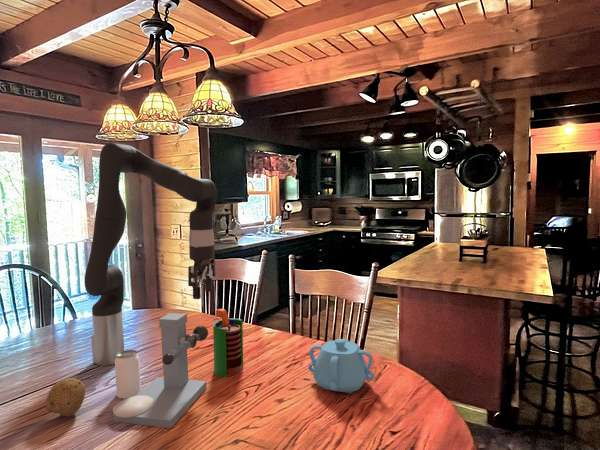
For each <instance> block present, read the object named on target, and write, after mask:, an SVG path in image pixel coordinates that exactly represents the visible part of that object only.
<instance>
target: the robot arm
mask: <svg viewBox="0 0 600 450" xmlns="http://www.w3.org/2000/svg"><path fill="white" fill-rule="evenodd" d="M98 165H99V166H98V169H99V170H98V194H97V204H96V209H95V210H96V211H95V217H94V224H93V234H92V241H91V249H90V253H89V258H88V262H87V265H86V270H85V275H84V288H85V290H86V292H87V294H89V295H90V296H92V297H99V299H98V300H97V301H96V302H95V303H94V304H93V305H92V309H91V313H92V314H91V315H92V328H93V331H92V332H93V334H92V335H91V350H92V351H91V353H92V363H93V364H94V363H95V364H96V365H98V366H102V367H104V366H112V365H115V359H116V355H117V354H118V353H120V352H122V351H125V337H124V322H123V304H124V301H125V298H124V297H125V296H124V295H125V294H124V290H125V289H124V288H125V282H124V281H125V280H124V275H123V272H122V271H121V269H120V268H119V267H118V266H116V265H115V264H109V263H110V259H111V256H112V254H113V253H114V251H115V249H116V247H117V246H118V244H119V242H120V241H121V239H122V237H123V235H124V233H125V228H126V223H127V222H126V221H127V209H126V206H125V202H124V200H123V198H122V195H121V192H120V186H119V185H120V177H121V174H122V173H124V174H125V173H133V174H137V175H141V176H145V177H147V178H148V179H150V180H151V181H152V182H154V183H155V184H156V185H158V186H160V187H161V188H165V189H167V190H169V191H171V192H174V193H175V194H177V195H179V196H180V197H182V198H184V200H187V201H189V202H192V203H195V208H194V209H193V210H191V211H190V213H189V216H188V217H189V220H188V221H189V234H188V244H189V245H188V247H189V248H188V249H189V250H188V251H189V260H191V261H193V265H189V266H188V271H187V276H188V278H187V279H188V281H187V283H188V287H191V288H192V299H194V300H200V299H201V298H202V295H201V293H202V292H201V286H202V281H204V291H205V292H207V293H210V292H212V291H213V280H214V278H215V277H216V259H215V257H216V256H215V232H214V211H215V208H216V203H217V196H218V194H217V193H218V191H217V187H216V184H215V182H213V181H212V180H211V179H207V178H196V177H193V176H190V175H189V174H188V173H187V172H186V171H183V170H181V169H179V168H176V167H173V166H171V165H168V164H165V163H163V162H160V161H158V160H155V159H153V157H152V158H151V157H150V156H148V155H146V154H145V153H143V152H142V151H140V150H138V149H136V148H135V147H133V146H131V145H128V144H125V143H117V142H115V143H114V142H107V143H105V145H103V146H102V148H101V150H100V154H99V162H98Z"/></svg>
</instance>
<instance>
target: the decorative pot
mask: <svg viewBox="0 0 600 450" xmlns="http://www.w3.org/2000/svg"><path fill="white" fill-rule="evenodd" d="M314 350H320V351H319V352H318V354H317V357H316V358H315V355H314V353H315V352H314ZM308 353H309V358H310V360H311V363H309V365H308V370H309V371H310V372H311V373H313V378H314V381H315V382H316V384H317V385H318V386H319V387H321V388H322V389H323V390H326V391H332V392H333V391H334V392H343V393H346V394H353V393H354V392H356V391H358V390H360V389H361V387H363V385H364V383H365V382H366V381H372V380H375V379H374V378H375V373H374V372H373V371H372V370H371V368H372V365H373V355H372V353H370V352H369V351H367V350H365V349H361V348H360V346H359V344H357V343H355V342H352V341H350V340H349V339H347V338H344V339H343V338H337V339H335V340H328V341H326V342H325V343H324V344H323V345H320V344H314V345H312V346H311V348H310V349H309V351H308ZM364 355H365V356H366V357H367V358H368V363H367V362H366V359H365V356H364ZM369 375H370V376H369Z"/></svg>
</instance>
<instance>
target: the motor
mask: <svg viewBox="0 0 600 450" xmlns="http://www.w3.org/2000/svg"><path fill="white" fill-rule="evenodd" d="M215 317H216V318H218V317H220V318H221V319H219V320H216V321H215V322H213V324H212V328H213V329H212V330H213V331H212V334H213V335H212V336H213V370H214V371H213V373H214V375H215V376H217V377H220V378H227V376H235V375H238V374H240V373H241V372H242V371H243V366H244V343H243V342H244V337H243V336H244V335H243V334H244V333H243V331H244V329H243V327H244V325H243V319H241V318H229V315H228V312H227V310H226V309H224V308H218V309H216V310H215Z"/></svg>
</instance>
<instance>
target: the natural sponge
mask: <svg viewBox="0 0 600 450" xmlns="http://www.w3.org/2000/svg"><path fill="white" fill-rule="evenodd" d="M85 396H86V385H85V384H84V383H83V382H82V381H81V380H80V379H77V378H74V377H68V378H63V379H60V380H59V381H58V382H56V383H54V385H52V386H51V388H50V390H49V392H48V395H47V397H46V399H45V403H44V404H45V405H44V406H45V409H46V411H47V412H49V413H52V414H57V415H61V416H62V417H67V418H69V417H72V416H74V415H75V414H76V413H77V412H78V411H79V410H80V408H81V407H82V405H83V402H84V400H85Z"/></svg>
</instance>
